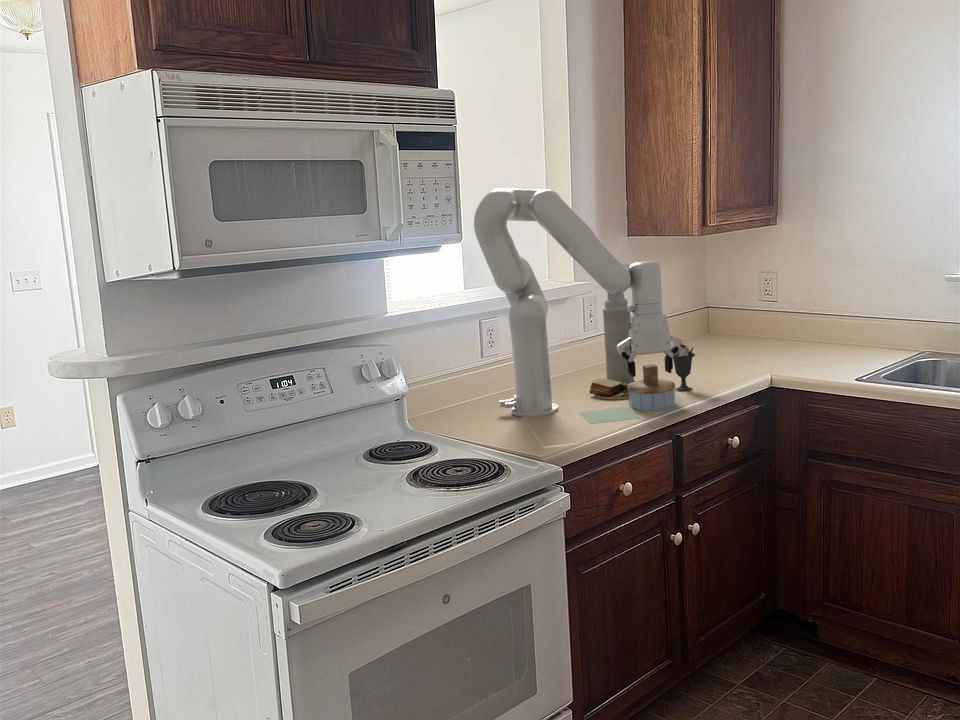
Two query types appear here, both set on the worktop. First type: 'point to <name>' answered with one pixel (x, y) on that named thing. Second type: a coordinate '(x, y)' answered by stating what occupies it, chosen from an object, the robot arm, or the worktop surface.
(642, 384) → the lid
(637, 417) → the mat
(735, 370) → the worktop surface
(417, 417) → the worktop surface
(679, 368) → the sundae
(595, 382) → the toy sandwich meal
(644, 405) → the bowl
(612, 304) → the thermos bottle
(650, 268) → the robot arm
